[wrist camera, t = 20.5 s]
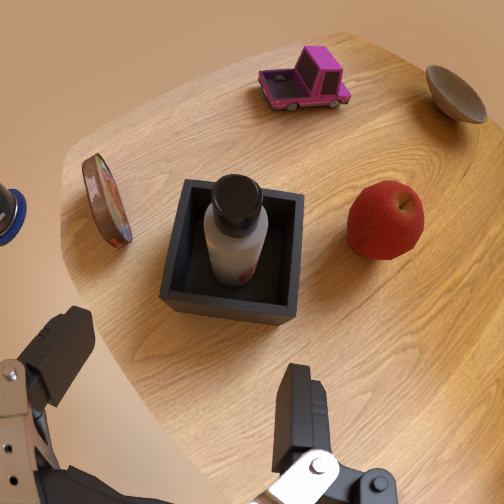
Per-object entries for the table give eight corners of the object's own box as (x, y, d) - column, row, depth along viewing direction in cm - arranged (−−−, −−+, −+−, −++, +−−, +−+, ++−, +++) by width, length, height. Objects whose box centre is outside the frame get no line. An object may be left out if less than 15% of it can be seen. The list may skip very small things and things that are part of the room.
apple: (358, 198, 47) (395, 147, 34) (403, 239, 45) (453, 200, 32) (321, 240, 44) (356, 194, 31) (371, 286, 42) (423, 257, 29)
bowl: (472, 113, 60) (486, 95, 52) (471, 153, 54) (490, 134, 47) (418, 75, 62) (430, 55, 54) (408, 108, 56) (423, 85, 49)
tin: (138, 250, 42) (119, 227, 34) (119, 259, 41) (96, 238, 33) (112, 171, 45) (96, 140, 38) (96, 179, 45) (77, 150, 37)
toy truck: (347, 111, 53) (364, 75, 44) (272, 118, 51) (280, 77, 42) (325, 77, 57) (337, 42, 47) (256, 82, 54) (260, 43, 45)
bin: (175, 311, 39) (158, 297, 30) (193, 215, 44) (184, 178, 34) (280, 325, 40) (296, 316, 30) (289, 228, 44) (304, 194, 35)
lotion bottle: (263, 262, 41) (291, 185, 22) (238, 296, 40) (247, 243, 21) (228, 239, 42) (229, 148, 23) (203, 271, 40) (182, 200, 21)
